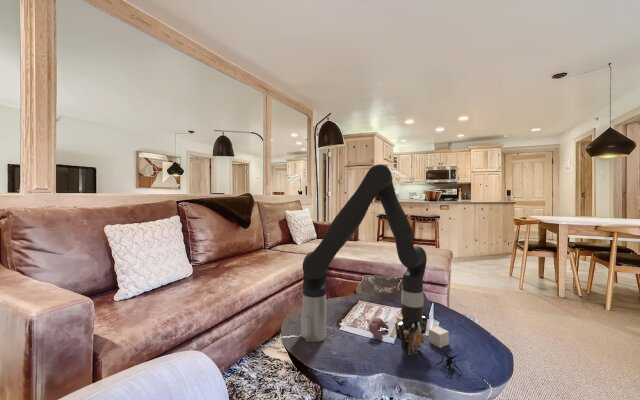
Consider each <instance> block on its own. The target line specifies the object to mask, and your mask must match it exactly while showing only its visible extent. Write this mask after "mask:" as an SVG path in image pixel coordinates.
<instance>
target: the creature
mask: <svg viewBox="0 0 640 400" xmlns="http://www.w3.org/2000/svg"><path fill="white" fill-rule="evenodd" d="M440 350H441V352H442V353H443V354H444V355H445V357H446V358H447V359H446V360H445V362H444V357H443V356H442V357H441V359H442V360H441V361H440V362H437V363H436V364H435V365H434V368H435V369H437V367H436V366H438V365H439V364H443V366H442V368H441V369H439V371H440V370H442V369H443V371H444V370H445V371H444V372H447V368H448V372H447V373H448V374H447V375H448V376H449V373H450V371H451V366H453V371H456V369H457V370H459V372H460V375H459V377H461V376H462V373H463V372H462V371H461V369H460V368H459V367H458V365H457V364H456V360H454V359H455V358H456V357H457V356H459V355H460V353H458V354H455V355H453V356H451V355H448V354H447V353H445V352H444V351H443V350H442V349H440ZM443 362H444V363H443ZM443 367H445V368H443ZM455 368H456V369H455ZM454 374H455V375H456V376H457V374H456V373H455V372H454Z"/></svg>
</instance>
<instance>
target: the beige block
mask: <svg viewBox="0 0 640 400" xmlns="http://www.w3.org/2000/svg"><path fill="white" fill-rule="evenodd" d="M449 339H450V333H449V331H448V330H446V329H444V328H442V327H441V326H438V325H437V326H433V327H431V328H429V329H428V342H429V343H430V344H432V345H434V346H436V347H437V348H439V349H441V348H444V347H446V346H448V345H449V343H450V342H449V341H450V340H449Z"/></svg>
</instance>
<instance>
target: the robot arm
mask: <svg viewBox="0 0 640 400" xmlns="http://www.w3.org/2000/svg"><path fill="white" fill-rule="evenodd" d="M376 197H378V199H379V201H380V202H381V206H382V207H383V210H384V214H385V216H386V217H385V218H386V219H387V223H388V226H389V228H390V230H391V233H392V235H393V238H394V240H395V247H396V251H397V256H398V260H399V262H400V263H401V265H403V267H405V268H406V271H405V272H403V275H402V280H401V281H402V283H401V285H402V287H401V288H402V289H401V296H400V297H401V299H400V302H401V303H400V305H401V306H400V307H401V308H400V309H401V310H400V313H401V315H402V316H403V319H402V322H401V323H397V322H395V324H394V326H395V333H396V334H395V335H396V339H398V340H399V341H401V344H400V345H401V350H402V351H404V353H406V352H407V353H408V337H409V336H410V335H411V333H412V331H420V332H421V335H422V336H423V335H425V334H426V333H427V332H426V331H427V327H428V325H427V324H428V318H427V316H424V276H425V271H426V266H427V263H428V262H427V253H426V251H425V249H424V248H423V247H422V246H419V245H414V243H413V239H414V237H415V233H414V231H413V228H412V226H411V223H410V221H409V218H408V217H407V215H406V212H405V210H404V209H403V207H402V205H401V204H400V201H399V199H398V197H397V193H396V192H395V187H394V183H393V175H392V172H391V169H390V168H389V167H388V166H387V165H385V164H383V163H378V164H374V165H373V166H371V167H370V168H369V170H368V171H367V172H366V174H365V176H364V177H363V179H362V180H361V183H360V184H359V186H358V188H357V189H356V190H355V192H354V193H353V194H352V195H351V196H350V198H349V199H348V200H347V201H346V203H345V204H344V206H343V207H342V208H341V209H340V211H339V212H338V213H337V215H336V216H335V217H334V219H333V220H332V222H331V223H330V225H329V226H328V229H327V230H326V232H325V234H324V236H323V238H322V240H321V242H320V243H319V244H318V245H317V247H316V248H315V249H314V250H313V251H310V252H308V253H307V254H306V255H305V257H304V258H303V262H302V272H303V279H302V311H301V312H300V336H301V338H302V339H304V341H305V342H307V343H320V342H322V341H324V340H326V338H327V270H328V268H329V266H330V265H331V263H332V261H333V260H334V258H335V257H336V255H337V253H339V251H340V250H341V249H342V248H343V247H344V245H346V243H347V242H348V241H349V239H350V238H351V237H352V236H353V235H354V233H355V232H356V231H357V230H358V228H359V227H360V225H361V224H362V222H363V220H364V218H365V216H366V215H367V213H368V210H369V208H370V205H371V204H372V202H373V200H374V199H375V198H376ZM405 329H406V330H407V331H408V332H407V331H405ZM405 334H406V337H404V336H405ZM420 347H421V345H420V346H418V347H417V348H420Z"/></svg>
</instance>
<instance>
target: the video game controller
mask: <svg viewBox="0 0 640 400" xmlns="http://www.w3.org/2000/svg"><path fill="white" fill-rule="evenodd" d="M381 327H382V328H386V329H389V330H390V328H389V326H388V324H386V323H385V321H384V320H383V319H382V318H380V317H375V318H373V319H372V320H371V322H370V323H369V325H368V330H369V332H370V333H371V334H372V335H373V337H374V338H375V339H377V340H378V341H383V339H384V337H383V335H382V334H381V332H379V331H378V330H380V328H381ZM382 328H381V329H382Z"/></svg>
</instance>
